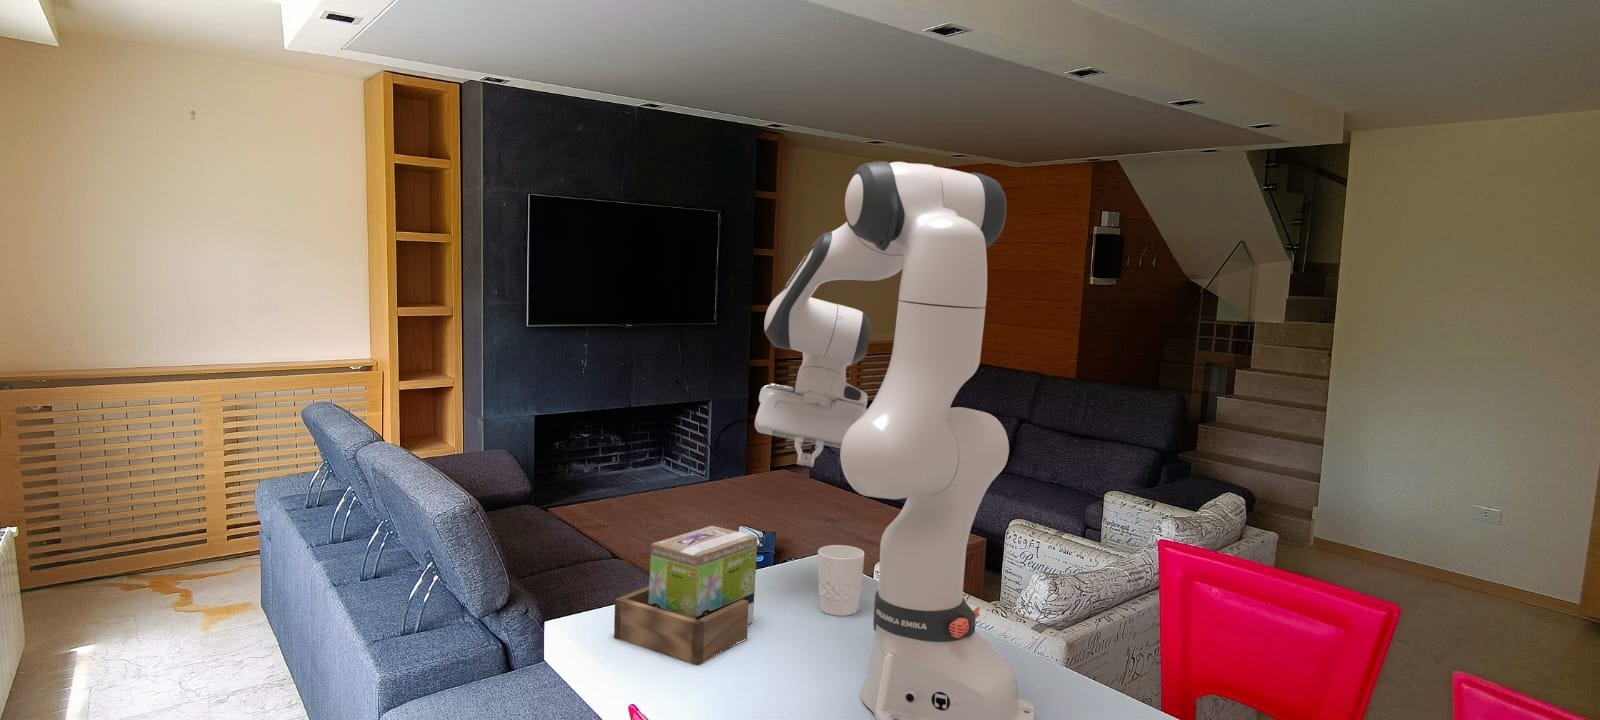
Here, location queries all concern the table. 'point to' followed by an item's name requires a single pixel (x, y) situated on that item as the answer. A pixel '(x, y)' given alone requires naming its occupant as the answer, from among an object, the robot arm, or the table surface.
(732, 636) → the wooden box
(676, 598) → the tea box
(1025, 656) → the table surface
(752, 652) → the table surface
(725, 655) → the table surface
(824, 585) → the white cup
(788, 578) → the table surface
